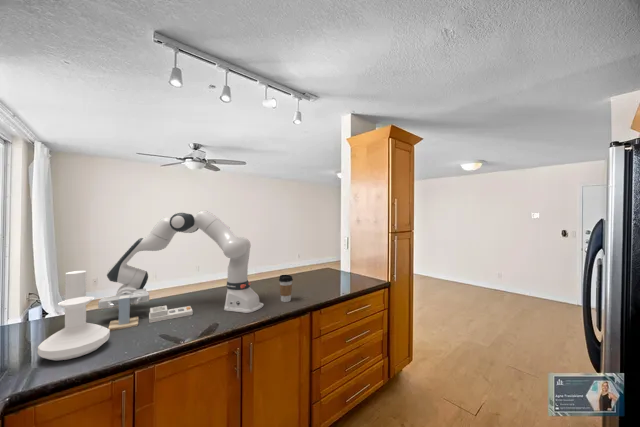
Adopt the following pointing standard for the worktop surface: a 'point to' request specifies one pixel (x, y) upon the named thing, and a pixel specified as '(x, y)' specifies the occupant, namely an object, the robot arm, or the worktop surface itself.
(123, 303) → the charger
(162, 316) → the power strip
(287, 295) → the coffee cup
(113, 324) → the oak pad
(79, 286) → the cylindrical container
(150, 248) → the robot arm
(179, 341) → the worktop surface
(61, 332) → the candle holder
